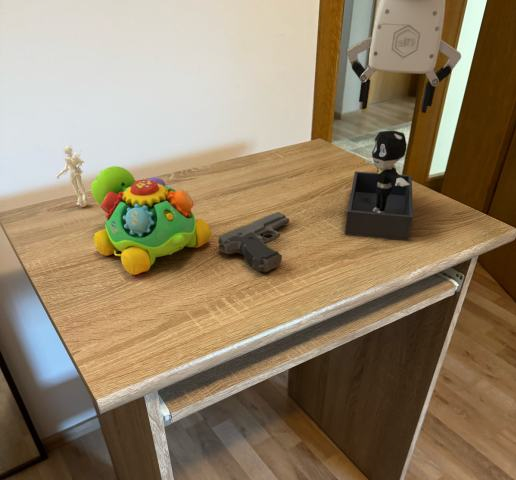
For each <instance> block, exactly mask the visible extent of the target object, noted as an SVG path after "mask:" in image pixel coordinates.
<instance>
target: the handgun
mask: <svg viewBox="0 0 516 480" xmlns="http://www.w3.org/2000/svg"><path fill="white" fill-rule="evenodd" d="M288 223H290V218H289V217H287V216H286V214H283V213H281V212H278V211H277V212H275V213H271V214H269V215H266V216H263V217H261V218H260V219H257V220H254V221H253V222H250V223H249V224H246V225H242V226H240V227H237V228H235V229H233V230H230V231H228V232H225V233H223V234H221V235H218V249H219V250H220V251H221V253H222V254H223V253H225V254H227V255H229V254H231V255H232V254H236V253H237V254H240V255H243V258H244V261H246V263H247V264H248V265H249V266H250V267H252V268H253V270H256V271H257V272H261V273H268V272H269V271H273V270H274V269H276V268H277V267H279V266H280V265H281V263H282V259H283V255H282V254H281V253H280V252H279V251H276V250H274V249H272V248H270V247H269V246H268V245H267V244H269V243H272V242H274V241H276V240H277V239H278V238H279V237H280V236H281V233H280V231H277V229H279V228H281V227H283V226H284V225H287V224H288ZM267 235H272V236H271V237H265V236H267Z"/></svg>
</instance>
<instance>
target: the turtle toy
mask: <svg viewBox="0 0 516 480" xmlns="http://www.w3.org/2000/svg"><path fill="white" fill-rule="evenodd" d="M90 192H91V194H92V197H93V199H94V201H95V202H96V203H97V204H98V205H99V206H100V208H101V210H102V211H104V212H105V213H106V215H105V218H106V222H105V225H104V227H105V228H103V229H101V230H99V231H96V232H95V233H94V236H93V243H94V245H95V247H96V250H97V251H98V252H99V253H100V254H101V255H102V256H105V257H106V256H110V255H111V256H112V255H113V254H114V256H116V257H120V261H121V264H122V267H123V268H124V269H125V271H126V272H127V273H128V274H130V275H134V276H136V275H139V274H141V273H145V272H148V271H149V270H150V268H151V267H152V266H153V265H154V263H155V262H156V258H158V257H164V256H171V255H173V253H177V252H178V251H180V250H183V249H184V247H187V248H195V249H197V248H200V247H202V246H203V245H205V244H207V243H209V242H210V240H211V238H212V230H211V228H210V225H209V224H208V222H206V221H205V220H204V219H201V218H199V219H198V218H197V219H196V216H195V213H193V212H192V208H193V207H194V204H195V203H194V200H193V198H192V197H191V195H190V194H189V193H188V192H186V191H185V190H181V189H180V190H179V191H177V190H175V189H174V188H173V187H171V186H167V185H166V182H165V181H164V180H163V179H161V178H159V177H149V178H148V179H141V180H136V179H135V177H134V175H133V174H132V173H131V172H130V171H129V170H128V169H126V168H124V167H122V166H115V165H113V166H108V167H106V168H105V169H103V170H101V171H100V172H99V173H98V175H97V177H96V178H95V179H94V180H93V181H92V183H91V185H90ZM118 252H121V253H118Z"/></svg>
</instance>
